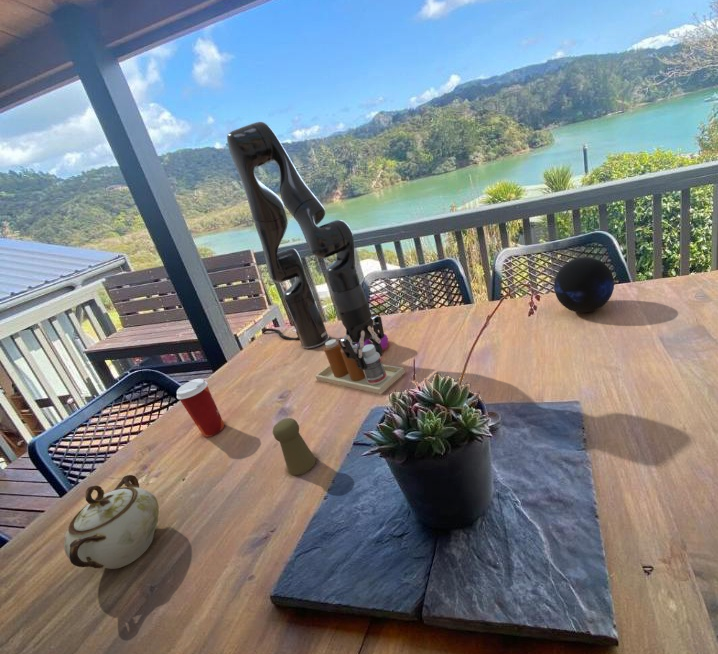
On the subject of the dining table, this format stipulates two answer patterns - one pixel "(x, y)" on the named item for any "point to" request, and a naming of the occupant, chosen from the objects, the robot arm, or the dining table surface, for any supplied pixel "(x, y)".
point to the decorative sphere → (584, 285)
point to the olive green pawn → (293, 447)
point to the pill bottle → (373, 365)
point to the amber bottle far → (335, 358)
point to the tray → (391, 374)
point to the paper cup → (201, 406)
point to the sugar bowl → (112, 526)
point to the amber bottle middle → (353, 368)
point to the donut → (383, 342)
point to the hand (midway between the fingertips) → (371, 362)
